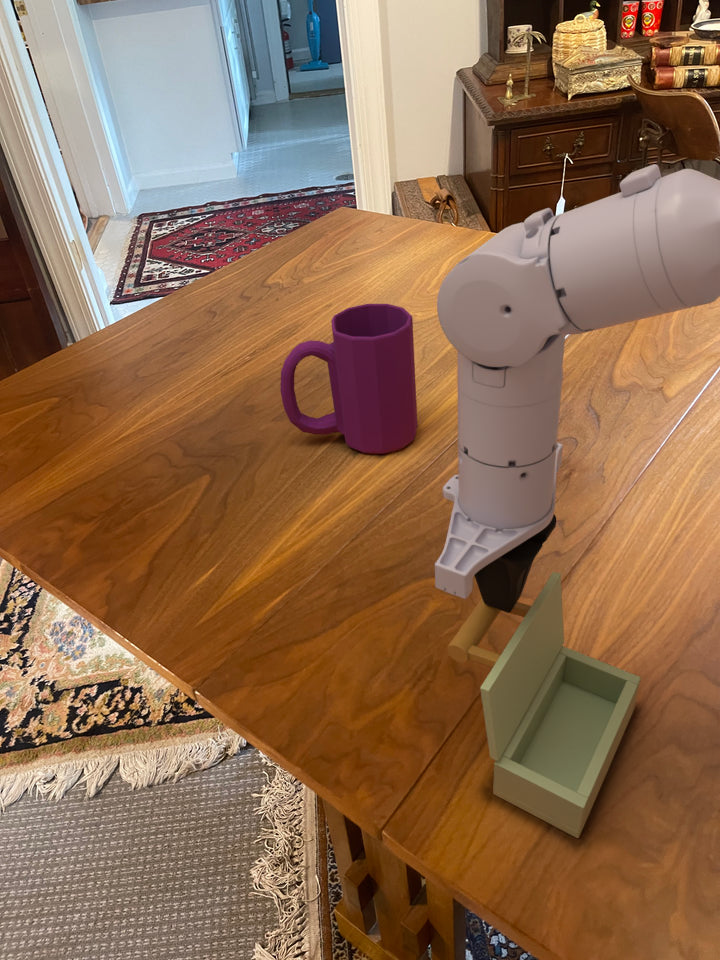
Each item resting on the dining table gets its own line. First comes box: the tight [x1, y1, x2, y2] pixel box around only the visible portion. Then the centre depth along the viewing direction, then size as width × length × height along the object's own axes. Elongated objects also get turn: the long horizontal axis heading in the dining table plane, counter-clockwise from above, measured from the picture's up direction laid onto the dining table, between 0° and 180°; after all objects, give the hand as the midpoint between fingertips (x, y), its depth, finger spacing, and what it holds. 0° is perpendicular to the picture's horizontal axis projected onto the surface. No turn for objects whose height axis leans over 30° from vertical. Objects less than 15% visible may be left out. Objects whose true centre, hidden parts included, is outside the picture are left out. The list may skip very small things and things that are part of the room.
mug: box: [280, 303, 418, 455], centre depth 84 cm, size 9×16×15 cm, turn 95°
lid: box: [446, 571, 565, 761], centre depth 51 cm, size 7×12×5 cm
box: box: [492, 645, 642, 839], centre depth 52 cm, size 6×12×4 cm, turn 146°
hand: (500, 602), depth 51 cm, fingers closed
